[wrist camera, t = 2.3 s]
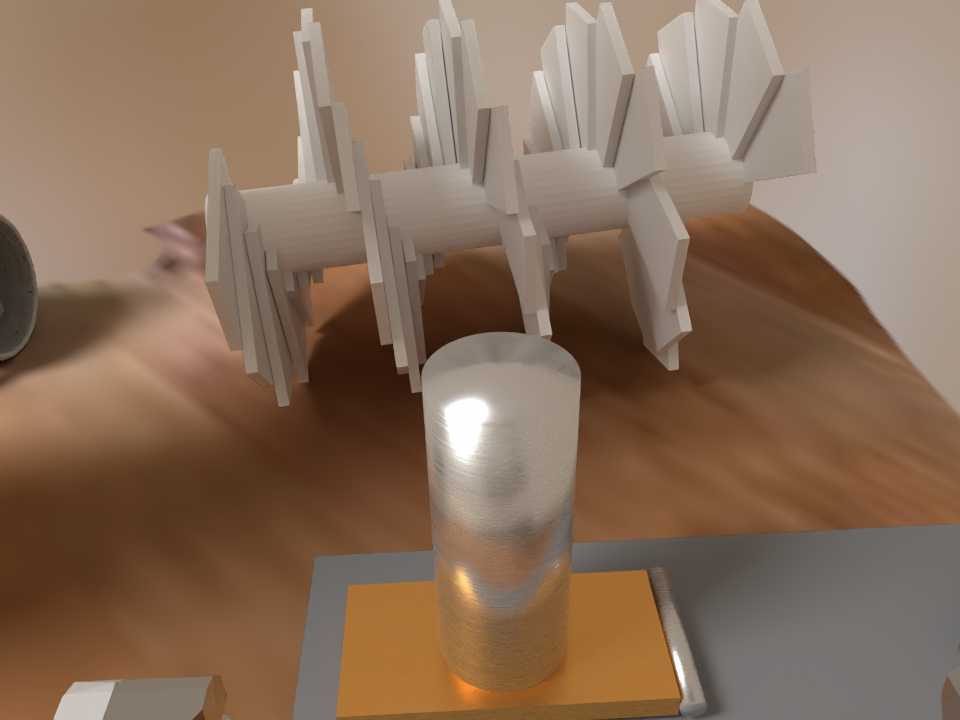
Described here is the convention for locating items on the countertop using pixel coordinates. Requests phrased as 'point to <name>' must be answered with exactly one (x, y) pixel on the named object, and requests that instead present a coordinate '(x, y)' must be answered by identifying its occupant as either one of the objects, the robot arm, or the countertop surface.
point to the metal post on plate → (511, 568)
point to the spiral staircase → (510, 179)
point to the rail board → (742, 618)
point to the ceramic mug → (15, 291)
